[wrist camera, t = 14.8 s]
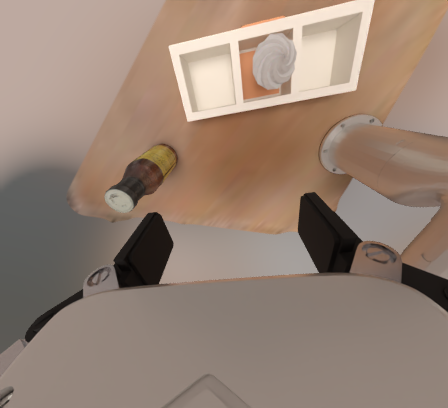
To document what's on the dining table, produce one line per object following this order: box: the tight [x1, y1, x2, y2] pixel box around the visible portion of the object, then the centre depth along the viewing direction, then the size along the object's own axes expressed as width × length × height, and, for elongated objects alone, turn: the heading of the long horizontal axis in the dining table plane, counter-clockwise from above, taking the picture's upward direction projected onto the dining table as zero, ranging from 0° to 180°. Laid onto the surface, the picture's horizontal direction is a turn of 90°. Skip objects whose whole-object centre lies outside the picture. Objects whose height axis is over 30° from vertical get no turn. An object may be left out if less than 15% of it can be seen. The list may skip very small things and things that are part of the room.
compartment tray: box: [169, 0, 375, 122], centre depth 28 cm, size 28×11×7 cm, turn 99°
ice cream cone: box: [253, 33, 297, 90], centre depth 24 cm, size 6×6×15 cm
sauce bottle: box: [105, 144, 177, 213], centre depth 31 cm, size 6×6×20 cm
